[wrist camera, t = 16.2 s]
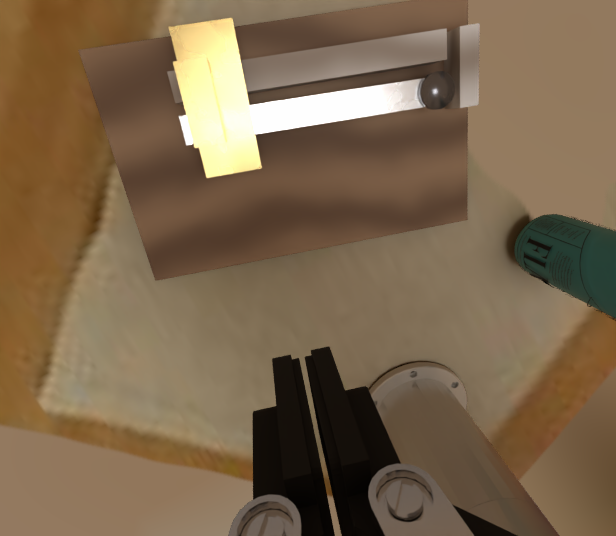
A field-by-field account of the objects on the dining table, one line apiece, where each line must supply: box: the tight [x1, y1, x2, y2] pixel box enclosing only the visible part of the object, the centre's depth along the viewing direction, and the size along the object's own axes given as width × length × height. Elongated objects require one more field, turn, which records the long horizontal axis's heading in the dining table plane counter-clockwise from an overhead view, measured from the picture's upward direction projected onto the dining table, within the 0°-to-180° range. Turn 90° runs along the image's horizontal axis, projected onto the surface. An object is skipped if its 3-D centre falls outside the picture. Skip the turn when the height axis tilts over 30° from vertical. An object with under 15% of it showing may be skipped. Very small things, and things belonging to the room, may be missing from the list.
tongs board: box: [78, 0, 480, 280], centre depth 31 cm, size 18×29×4 cm, turn 99°
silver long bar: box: [179, 71, 455, 145], centre depth 29 cm, size 3×20×3 cm, turn 98°
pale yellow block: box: [169, 18, 262, 178], centre depth 26 cm, size 9×4×6 cm, turn 9°
